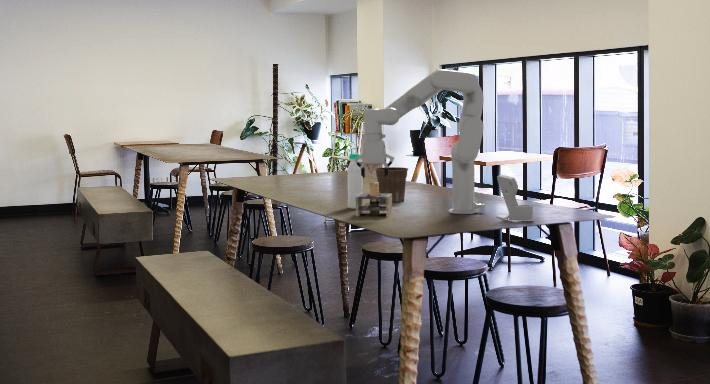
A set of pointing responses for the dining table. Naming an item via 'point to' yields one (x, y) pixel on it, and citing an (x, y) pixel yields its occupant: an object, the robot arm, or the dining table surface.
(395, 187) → the plant pot
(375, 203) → the tan cylinder
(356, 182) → the water bottle
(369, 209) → the collar stand
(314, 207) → the dining table surface
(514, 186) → the phone holder
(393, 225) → the dining table surface
